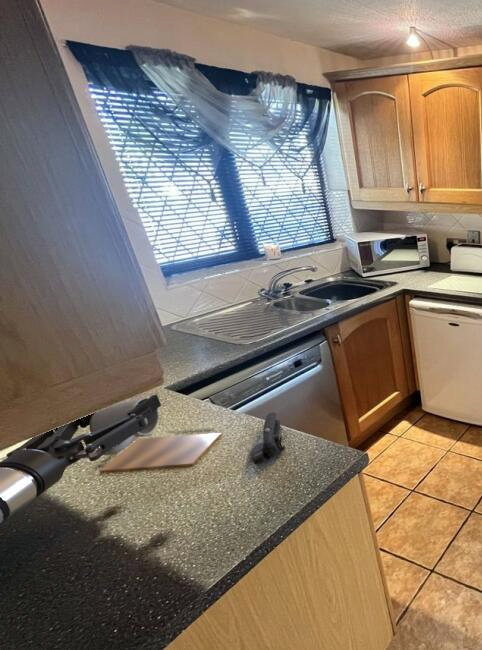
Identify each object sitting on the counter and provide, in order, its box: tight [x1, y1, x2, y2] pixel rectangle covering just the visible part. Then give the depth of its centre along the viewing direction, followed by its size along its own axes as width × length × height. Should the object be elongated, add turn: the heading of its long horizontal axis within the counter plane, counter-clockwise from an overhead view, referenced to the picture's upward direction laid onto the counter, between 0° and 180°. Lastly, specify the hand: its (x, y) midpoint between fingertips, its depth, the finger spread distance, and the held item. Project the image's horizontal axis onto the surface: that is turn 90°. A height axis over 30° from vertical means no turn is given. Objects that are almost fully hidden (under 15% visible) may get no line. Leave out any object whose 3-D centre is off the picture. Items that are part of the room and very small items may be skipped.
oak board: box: [98, 432, 223, 473], centre depth 92 cm, size 20×11×1 cm, turn 95°
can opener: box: [251, 412, 286, 465], centre depth 94 cm, size 18×7×6 cm, turn 26°
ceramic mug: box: [88, 397, 160, 456], centre depth 78 cm, size 11×8×8 cm
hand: (133, 401), depth 81 cm, fingers closed on ceramic mug, 9 cm apart
